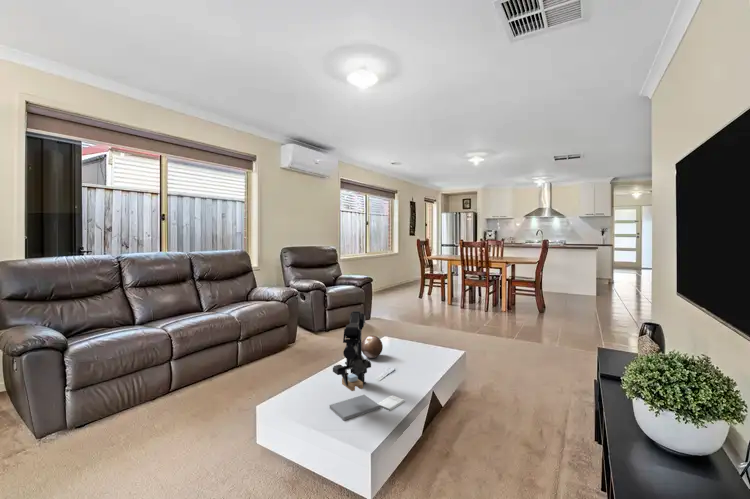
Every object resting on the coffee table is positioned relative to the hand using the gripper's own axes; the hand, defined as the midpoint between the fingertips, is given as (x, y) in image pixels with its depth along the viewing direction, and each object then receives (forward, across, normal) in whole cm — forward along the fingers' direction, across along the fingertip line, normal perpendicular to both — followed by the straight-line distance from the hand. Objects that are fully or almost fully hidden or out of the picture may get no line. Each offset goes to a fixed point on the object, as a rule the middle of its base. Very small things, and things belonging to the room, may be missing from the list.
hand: (352, 384), depth 168 cm
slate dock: (+11, 0, -2) cm, 11 cm away
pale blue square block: (-2, 0, 0) cm, 2 cm away
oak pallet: (+1, 0, 0) cm, 1 cm away
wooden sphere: (+11, +47, +54) cm, 72 cm away
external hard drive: (+12, +18, -8) cm, 23 cm away
